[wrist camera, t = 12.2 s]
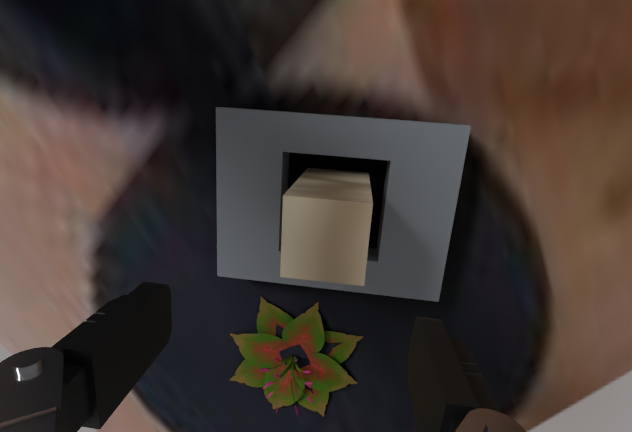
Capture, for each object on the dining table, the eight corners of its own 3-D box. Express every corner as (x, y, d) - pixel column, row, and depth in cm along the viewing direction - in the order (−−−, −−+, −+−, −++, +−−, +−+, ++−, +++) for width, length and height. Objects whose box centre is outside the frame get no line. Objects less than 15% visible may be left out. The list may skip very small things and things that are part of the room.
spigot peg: (304, 225, 28) (280, 277, 19) (308, 167, 26) (283, 195, 18) (362, 230, 27) (364, 285, 19) (368, 172, 26) (373, 203, 17)
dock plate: (229, 262, 29) (217, 276, 27) (229, 107, 26) (215, 107, 23) (431, 285, 28) (438, 301, 25) (460, 124, 24) (471, 125, 22)
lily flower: (251, 270, 30) (233, 297, 25) (387, 324, 30) (392, 361, 25) (212, 380, 33) (190, 421, 29) (333, 428, 33) (330, 476, 29)
